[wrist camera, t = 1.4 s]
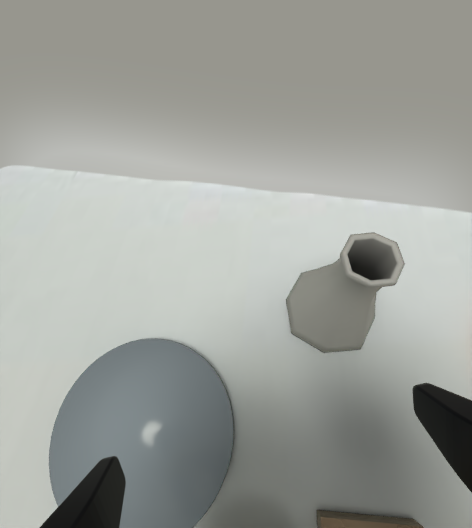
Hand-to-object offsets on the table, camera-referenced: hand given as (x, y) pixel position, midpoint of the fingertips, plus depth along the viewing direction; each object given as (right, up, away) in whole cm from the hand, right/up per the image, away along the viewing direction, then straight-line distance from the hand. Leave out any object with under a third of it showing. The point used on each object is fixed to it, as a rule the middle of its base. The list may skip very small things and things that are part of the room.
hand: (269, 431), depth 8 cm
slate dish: (-8, -7, +13) cm, 16 cm away
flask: (+7, +1, +16) cm, 17 cm away
